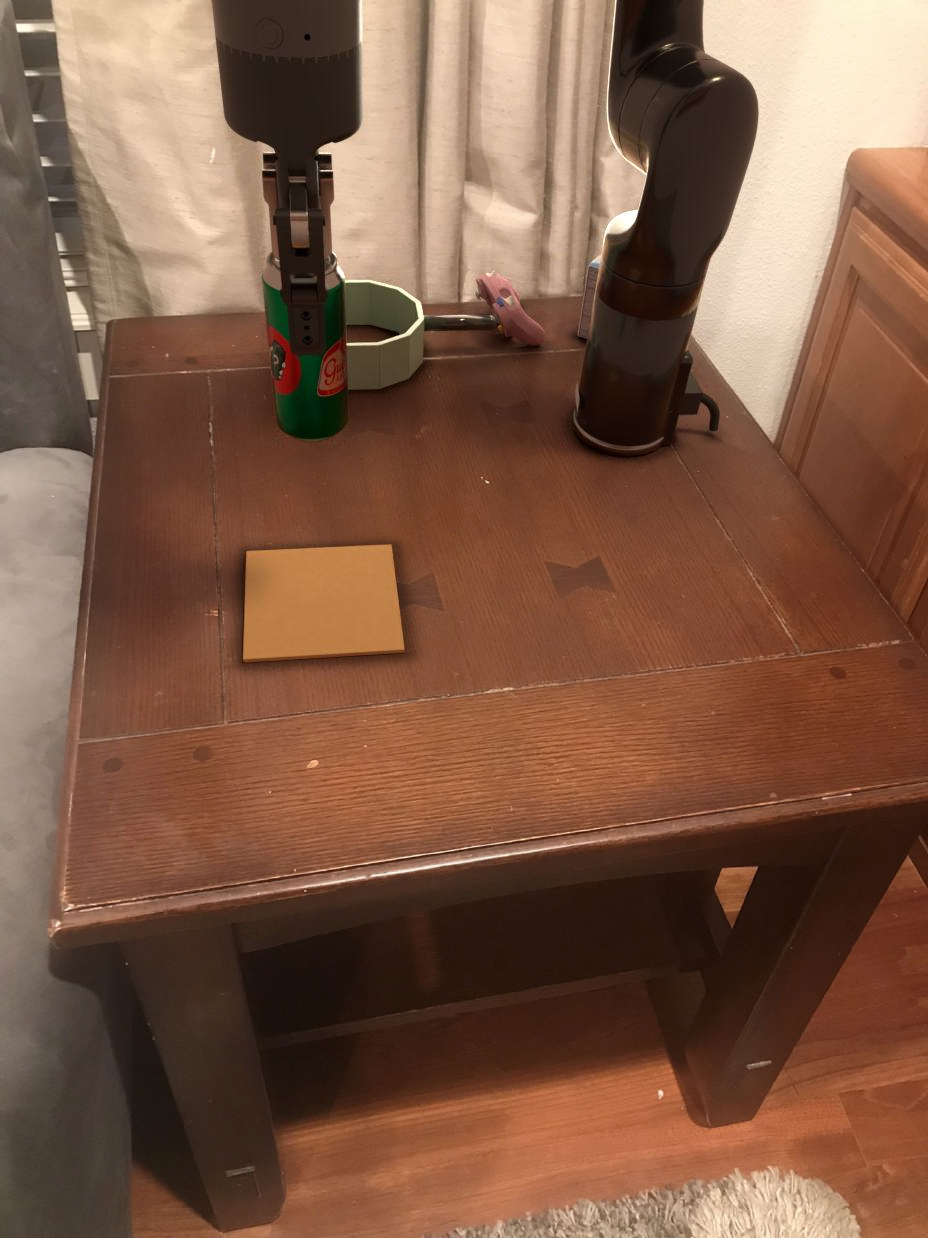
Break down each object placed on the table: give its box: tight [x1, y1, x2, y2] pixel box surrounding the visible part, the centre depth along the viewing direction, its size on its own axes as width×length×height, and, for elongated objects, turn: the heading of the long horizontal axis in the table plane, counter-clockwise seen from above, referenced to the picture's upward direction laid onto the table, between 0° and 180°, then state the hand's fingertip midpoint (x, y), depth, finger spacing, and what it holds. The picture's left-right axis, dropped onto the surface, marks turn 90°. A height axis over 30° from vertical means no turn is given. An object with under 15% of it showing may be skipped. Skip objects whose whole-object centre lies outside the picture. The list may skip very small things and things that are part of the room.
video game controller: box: [474, 269, 546, 347], centre depth 105 cm, size 10×5×7 cm, turn 17°
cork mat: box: [242, 543, 405, 664], centre depth 75 cm, size 12×12×1 cm
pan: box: [345, 279, 498, 391], centre depth 100 cm, size 22×14×5 cm, turn 98°
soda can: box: [261, 251, 350, 443], centre depth 62 cm, size 5×5×12 cm
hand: (307, 327), depth 61 cm, fingers closed on soda can, 5 cm apart
